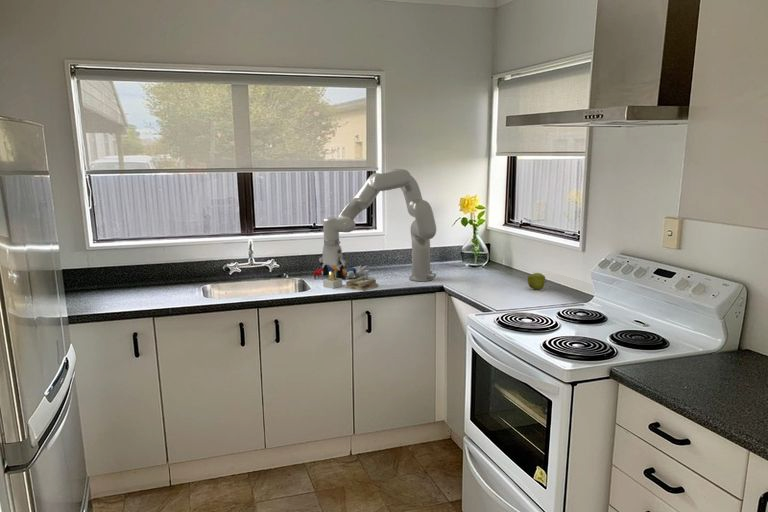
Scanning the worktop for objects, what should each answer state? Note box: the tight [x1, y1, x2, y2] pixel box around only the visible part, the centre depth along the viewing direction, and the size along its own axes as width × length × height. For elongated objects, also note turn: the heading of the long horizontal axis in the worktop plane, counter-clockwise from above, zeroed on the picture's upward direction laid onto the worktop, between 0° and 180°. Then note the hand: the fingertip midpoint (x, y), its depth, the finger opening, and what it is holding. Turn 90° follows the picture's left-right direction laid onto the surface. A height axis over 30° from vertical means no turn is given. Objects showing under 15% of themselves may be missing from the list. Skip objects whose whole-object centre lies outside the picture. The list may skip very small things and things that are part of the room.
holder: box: [322, 277, 343, 289], centre depth 283 cm, size 7×7×4 cm
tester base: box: [345, 277, 379, 291], centre depth 281 cm, size 10×12×3 cm
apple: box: [527, 272, 548, 291], centre depth 270 cm, size 8×9×8 cm
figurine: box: [313, 264, 370, 280], centre depth 300 cm, size 27×9×30 cm
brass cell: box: [328, 270, 336, 281], centre depth 283 cm, size 4×4×8 cm
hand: (332, 276), depth 282 cm, fingers open, 9 cm apart
